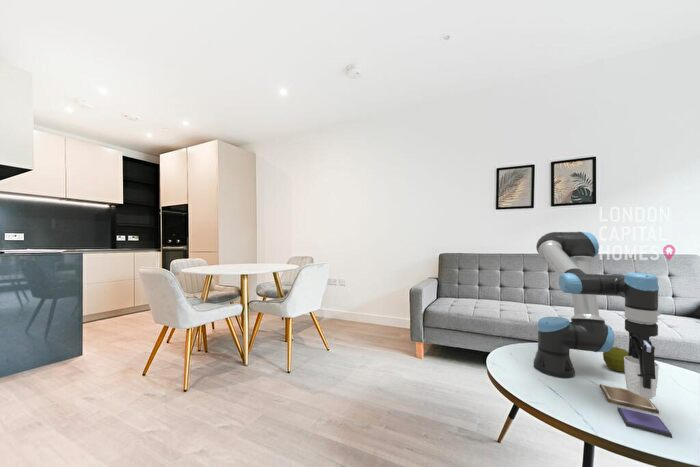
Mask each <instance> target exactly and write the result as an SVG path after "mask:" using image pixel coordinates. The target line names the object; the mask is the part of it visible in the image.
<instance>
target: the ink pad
mask: <svg viewBox="0 0 700 467" xmlns="http://www.w3.org/2000/svg"><path fill="white" fill-rule="evenodd" d="M616 410H617V412H618V414H619V415H620V417H621V419H622V421H623V423H624V424H625V426H626V427H629V428H633V429H635V430H640V431H644V432H647V433H652V434H655V435H660V436H664V437H667V438H673V434H672V432H671V431H670V430H669V429H668V427H667V426H666V425H665V423H664V422H663V421H662V419H661V418H660V417H659V416H657V415H656V414H655V415H654V414H649V413H647V412H646V413H645V412H641V411H638V410H637V411H636V410H633V409H628V408H626V407H625V408H624V407H618V406H617V407H616Z"/></svg>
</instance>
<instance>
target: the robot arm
mask: <svg viewBox="0 0 700 467" xmlns="http://www.w3.org/2000/svg"><path fill="white" fill-rule="evenodd" d="M535 248H536V251H537V253H538V255H539V256H540V257H541V258H543V259H545V260H546V261H547V262H548V263H549V265H550V266H551V267H552V269H553V270H554V271H555V272H556V274H557V275H558V286H559V289H560V291H561V292H563V293H565V294H571V299H572V304H573V305H572V306H573V312H574V314H573V315H572V317H571V318H570V320H569V319H568V318H566V317H562V316H560V317H559V316H545V317H541V318H539V319H538V321H537V328H536V330H537V351H536V354H535V357H534V358H533V368H534V369H535V370H537V371H538V372H540V373H542V374H545V375H547V376H550V377H555V378H560V379H571V378H574V377H575V376H576V370H575V369H576V368H575V367H574V365H573V362H572V359H571V356H570V350H575V351H583V352H584V351H585V352H593V353H603V352H608V351H610V350H611V349H612V347H614V344H615V334H614V330H613V328H612V326H610V325H608V324H606V322H605V319H604V318H603V317H602V316H600V313H599V312H600V311H599V305H598V300H597V299H598V298H597V296H607V297H608V296H611V297H613V296H614V297H622V298H624V318H625V319H624V330H625V332H627V333H628V338H629V339H628V351H627V352H628V356H632V357H633V358H636V359H639V365H640V373H641V374H638V376H639V396H640V397H644V398H649V399H650V400H653V397H652V379H656V377H655V363H656V362H655V350H656V348H655V346H654V345H652V344H653V343H652V341H651V339H650V338H651V337H652V338H653V337H657V336H659V325H658V324H657V323H658V322H659V318H658V316H660V315H661V312H659V289H660V287H659V281H658V277H657V276H656V275H654V274H652V273H646V272H645V273H644V272H626V274H622V273H609V274H601V273H599V274H597V273H593V267H592V263H593V261H594V260H595V257H596V256H598V254H599V251H600V250H599V249H600V244H599V242H598V239H597V237H596V235H594V234H593V233H591V232H588V231H552V232H547V233H546V234H544V235H542V236H541V237H540V238H539V239H538V240H537V243H536V247H535Z"/></svg>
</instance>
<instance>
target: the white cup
mask: <svg viewBox="0 0 700 467" xmlns="http://www.w3.org/2000/svg"><path fill="white" fill-rule="evenodd" d="M624 368H625V371H624V377H625V387H626V388H625V389H627V390H629V391H631V392H633V393H635V394H637V395H639V376H638V374H641V373H640V365H639V359H636V358H633V357H632V356H625V357H624ZM659 368H660V365H659V364H658V363H657V362H655V377H656V379H652V398H655V397H656V396H657V388H658V382H659V381H658V379H659Z"/></svg>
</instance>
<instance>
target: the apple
mask: <svg viewBox="0 0 700 467" xmlns="http://www.w3.org/2000/svg"><path fill="white" fill-rule="evenodd" d="M628 352H629V351H627V350H626V349H623V348H620V347H617V346H616V347H615V346H613V347H612V349H611V350H610V351H608V352H602V357H603V358H602V359H603V361H604V363H605V365H606V367H608V368H609V369H610V370H612V369H613V370H612V371H616V372H620V373H621V372H622V373H623V372H624V373H625V368H624V357H625V356H628Z"/></svg>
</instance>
